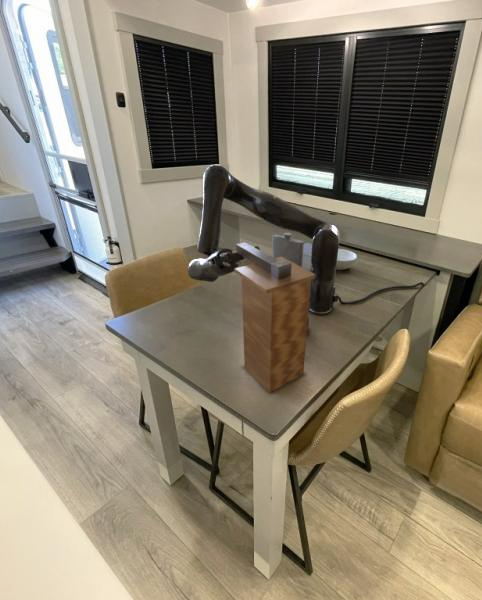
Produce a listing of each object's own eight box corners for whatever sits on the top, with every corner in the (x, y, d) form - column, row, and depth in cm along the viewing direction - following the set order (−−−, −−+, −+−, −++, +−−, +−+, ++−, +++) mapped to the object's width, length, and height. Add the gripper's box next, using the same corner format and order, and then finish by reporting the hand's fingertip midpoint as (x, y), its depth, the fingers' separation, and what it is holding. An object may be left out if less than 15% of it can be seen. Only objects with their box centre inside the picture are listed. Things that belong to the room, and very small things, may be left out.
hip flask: (302, 276, 156) (305, 235, 146) (298, 279, 152) (301, 238, 143) (274, 268, 162) (275, 228, 152) (269, 271, 159) (270, 230, 149)
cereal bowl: (356, 275, 161) (359, 261, 158) (323, 272, 161) (324, 259, 158) (352, 261, 176) (354, 249, 173) (321, 259, 176) (323, 247, 172)
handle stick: (247, 250, 94) (246, 239, 92) (291, 275, 81) (291, 263, 79) (234, 252, 91) (234, 241, 90) (278, 279, 78) (278, 266, 77)
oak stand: (278, 348, 107) (281, 256, 91) (307, 372, 98) (315, 274, 82) (238, 367, 98) (233, 268, 82) (265, 395, 89) (266, 290, 73)
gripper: (196, 255, 99) (217, 243, 86) (238, 247, 107) (262, 235, 94) (204, 279, 100) (226, 271, 87) (245, 269, 108) (270, 260, 95)
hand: (245, 252), depth 91 cm, fingers open, 8 cm apart
